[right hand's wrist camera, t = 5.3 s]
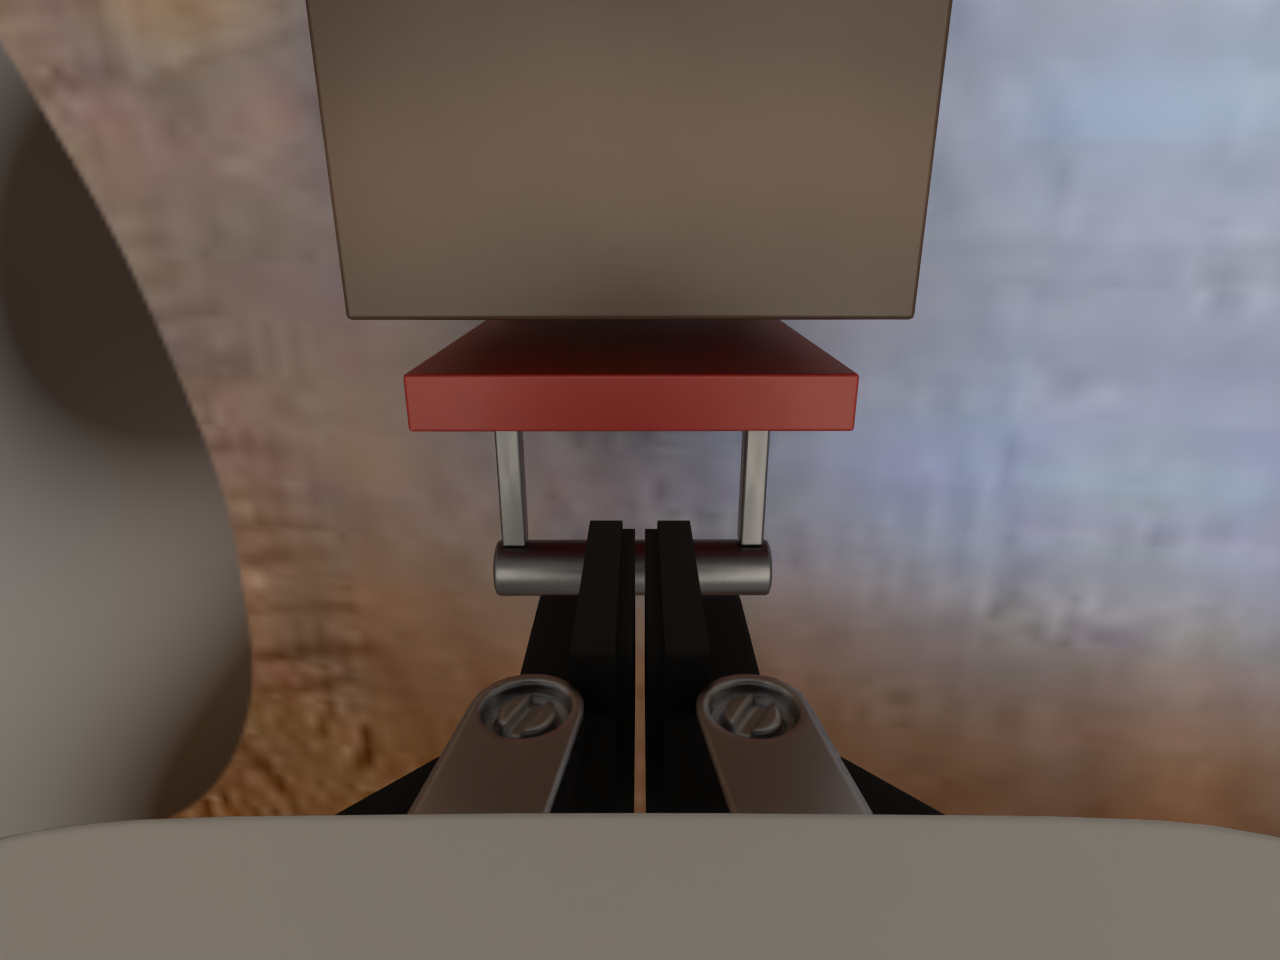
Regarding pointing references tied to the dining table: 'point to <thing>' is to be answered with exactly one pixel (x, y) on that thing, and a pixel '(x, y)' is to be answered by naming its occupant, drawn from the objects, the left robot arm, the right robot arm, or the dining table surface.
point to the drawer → (631, 418)
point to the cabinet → (629, 156)
